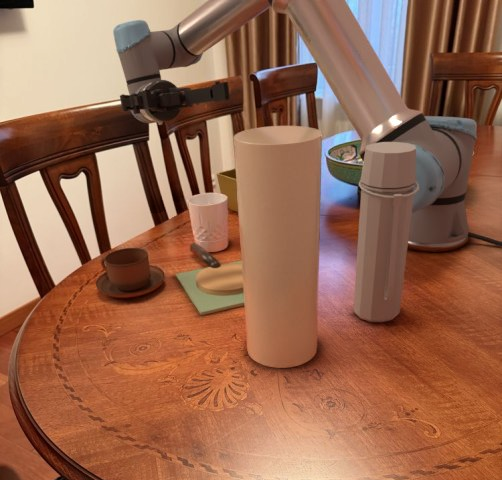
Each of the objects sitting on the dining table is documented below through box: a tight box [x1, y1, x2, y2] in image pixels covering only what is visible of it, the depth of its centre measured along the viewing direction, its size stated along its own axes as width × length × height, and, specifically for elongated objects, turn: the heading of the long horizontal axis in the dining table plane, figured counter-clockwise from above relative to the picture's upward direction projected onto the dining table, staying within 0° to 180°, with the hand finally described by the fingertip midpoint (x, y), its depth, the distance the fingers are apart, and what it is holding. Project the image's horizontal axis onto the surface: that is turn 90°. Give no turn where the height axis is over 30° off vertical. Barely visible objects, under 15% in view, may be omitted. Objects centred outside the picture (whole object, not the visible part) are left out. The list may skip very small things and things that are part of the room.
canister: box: [233, 125, 323, 369], centre depth 66 cm, size 10×10×29 cm
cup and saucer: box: [95, 247, 165, 299], centre depth 91 cm, size 12×12×6 cm
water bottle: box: [353, 142, 419, 323], centre depth 73 cm, size 9×8×25 cm
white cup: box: [187, 192, 229, 253], centre depth 105 cm, size 8×8×10 cm
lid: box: [189, 242, 243, 295], centre depth 95 cm, size 22×11×2 cm, turn 27°
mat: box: [174, 260, 244, 316], centre depth 92 cm, size 16×16×1 cm
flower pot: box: [216, 167, 238, 213], centre depth 124 cm, size 9×9×9 cm
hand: (188, 94), depth 87 cm, fingers open, 13 cm apart
